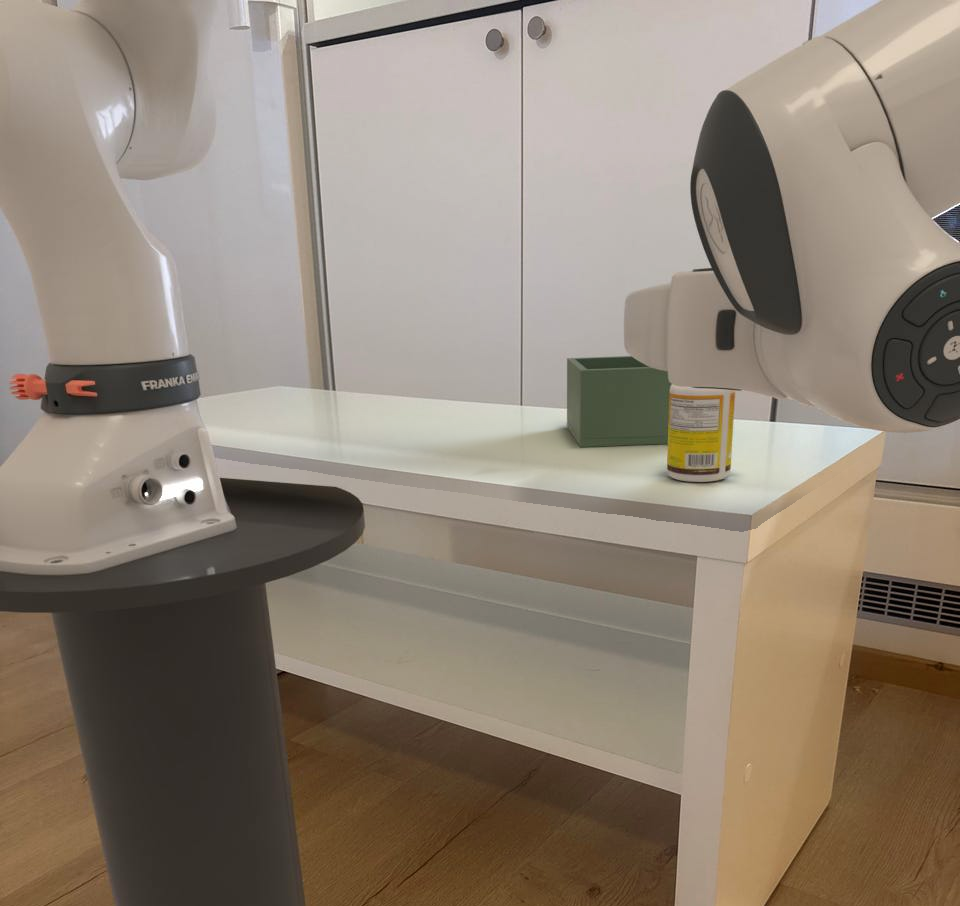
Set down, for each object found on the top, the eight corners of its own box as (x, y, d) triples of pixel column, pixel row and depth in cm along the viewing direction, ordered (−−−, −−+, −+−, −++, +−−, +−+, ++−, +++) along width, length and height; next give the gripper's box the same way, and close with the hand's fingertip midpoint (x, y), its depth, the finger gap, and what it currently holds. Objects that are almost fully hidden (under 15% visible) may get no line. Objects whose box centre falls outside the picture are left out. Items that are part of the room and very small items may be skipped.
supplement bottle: (700, 467, 88) (706, 353, 84) (743, 478, 83) (752, 357, 79) (653, 475, 85) (657, 358, 81) (694, 486, 81) (701, 362, 77)
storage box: (699, 442, 99) (704, 365, 96) (580, 447, 99) (580, 370, 96) (673, 423, 111) (676, 354, 108) (566, 427, 111) (567, 358, 108)
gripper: (1008, 257, 54) (901, 258, 66) (649, 273, 53) (611, 271, 66) (990, 372, 56) (890, 351, 69) (646, 388, 56) (610, 364, 69)
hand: (751, 312), depth 68 cm, fingers open, 8 cm apart
